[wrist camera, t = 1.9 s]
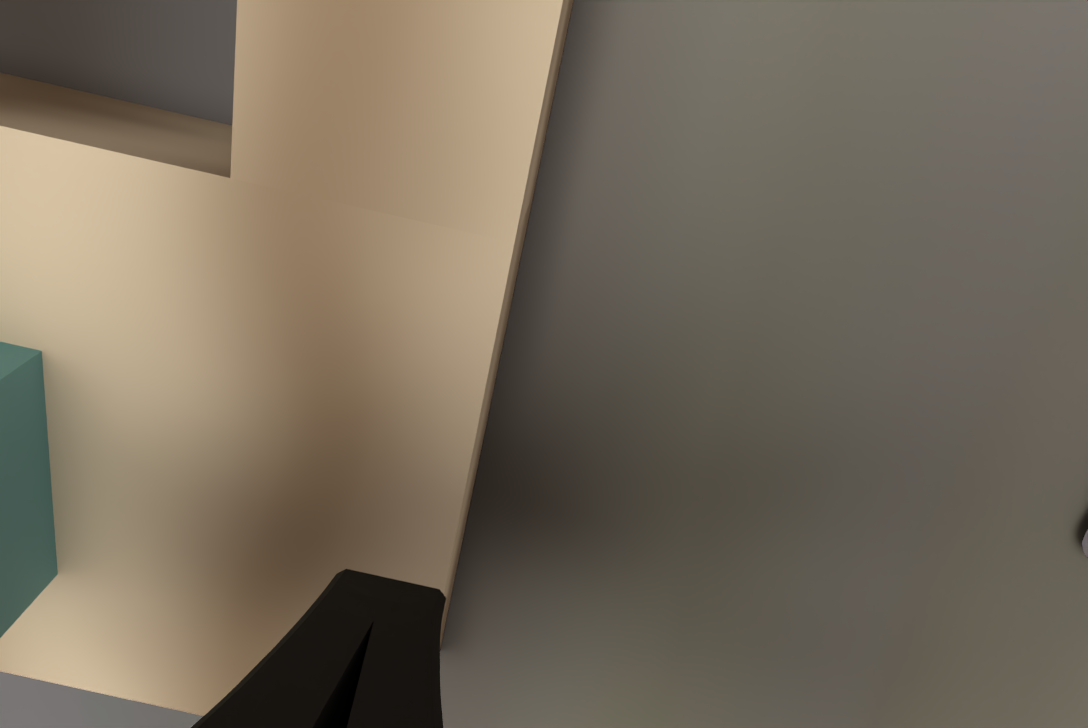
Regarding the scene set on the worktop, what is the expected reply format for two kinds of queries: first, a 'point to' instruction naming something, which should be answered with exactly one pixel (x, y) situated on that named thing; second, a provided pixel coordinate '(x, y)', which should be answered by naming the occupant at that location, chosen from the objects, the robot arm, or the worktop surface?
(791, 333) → the worktop surface
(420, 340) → the board
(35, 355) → the block
